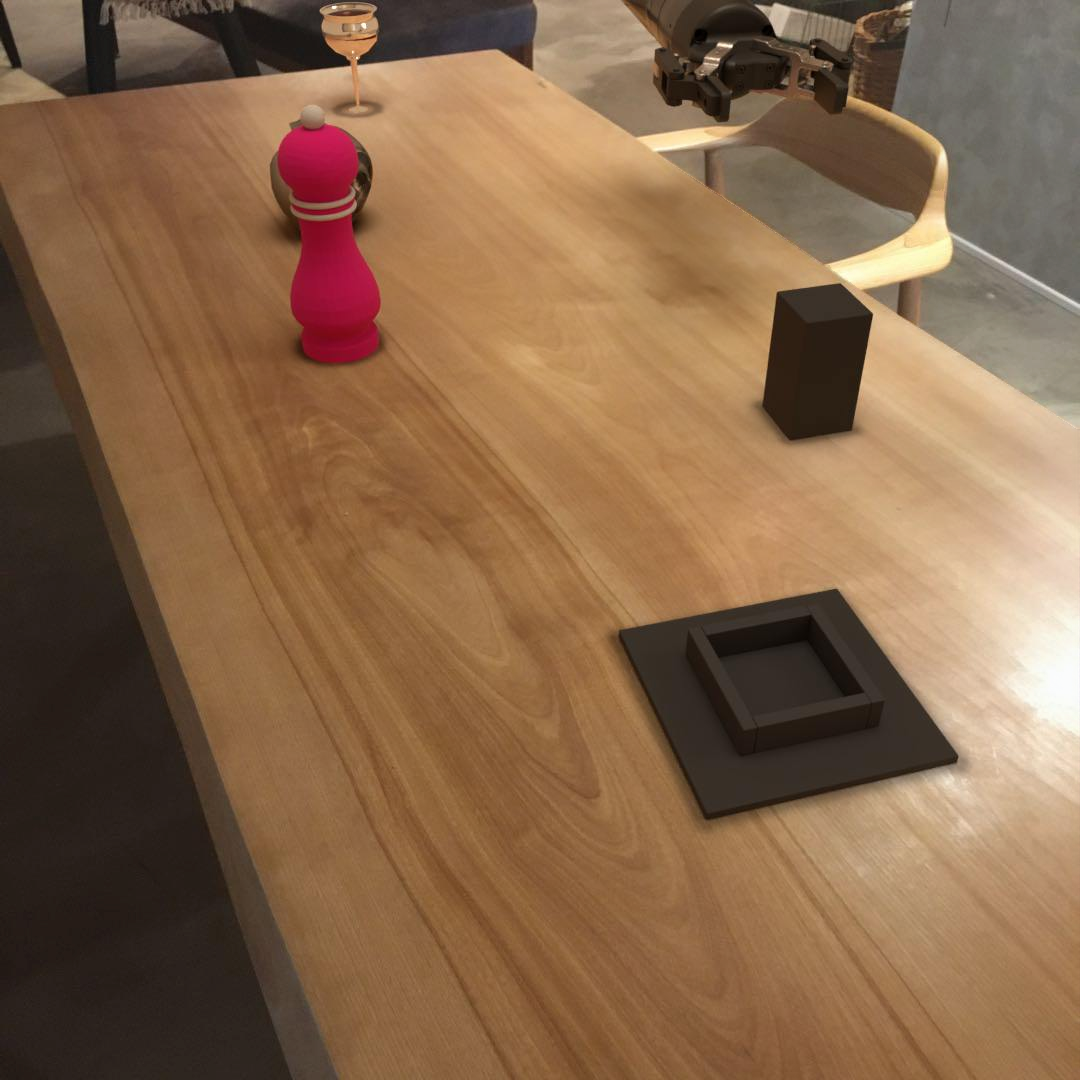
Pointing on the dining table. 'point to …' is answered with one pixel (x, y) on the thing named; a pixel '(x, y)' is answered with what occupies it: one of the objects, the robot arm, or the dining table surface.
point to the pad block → (816, 360)
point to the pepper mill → (328, 243)
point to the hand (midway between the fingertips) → (783, 104)
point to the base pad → (781, 702)
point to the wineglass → (350, 34)
